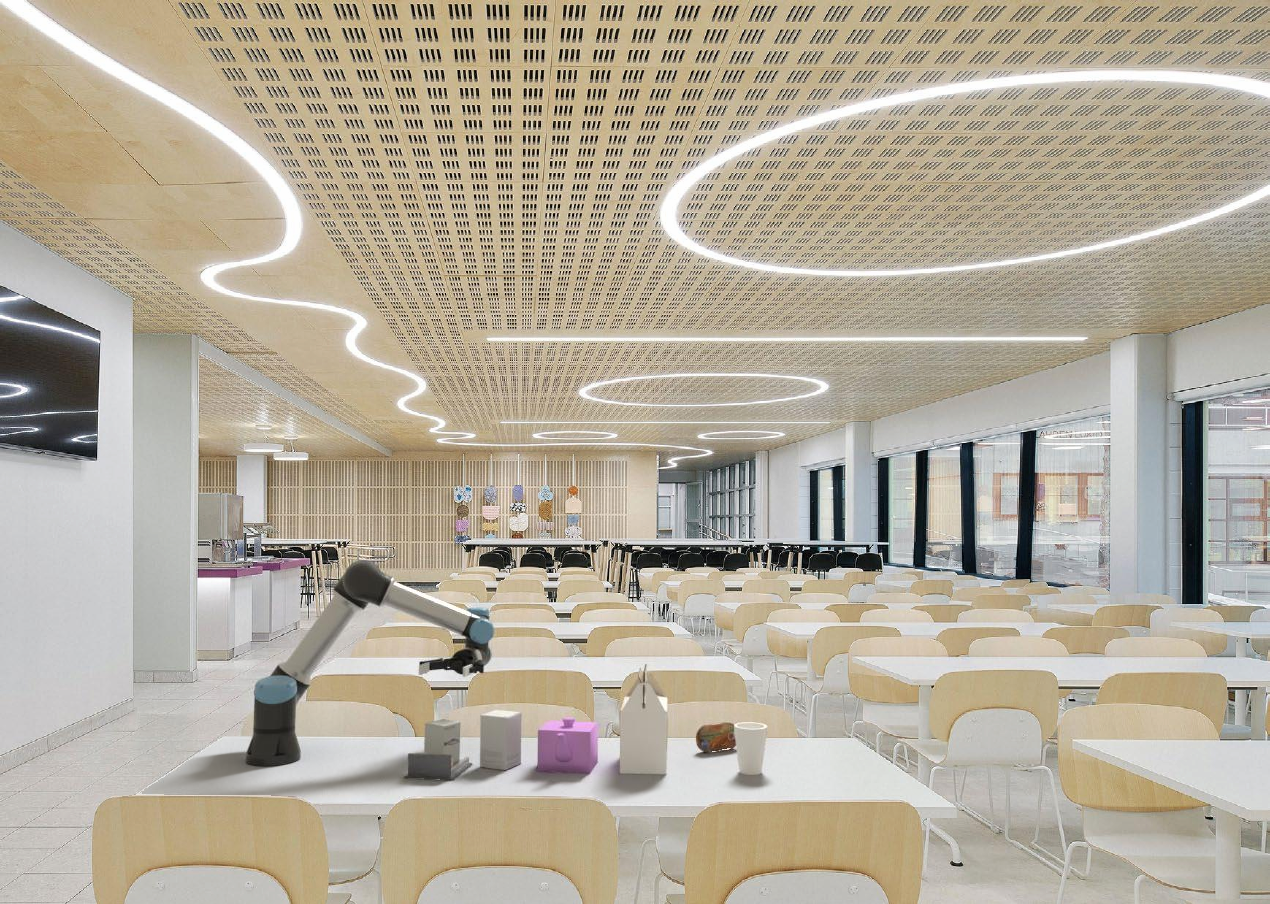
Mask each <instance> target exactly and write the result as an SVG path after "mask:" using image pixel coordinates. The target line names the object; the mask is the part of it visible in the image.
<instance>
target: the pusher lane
mask: <svg viewBox="0 0 1270 904" xmlns="http://www.w3.org/2000/svg"><path fill="white" fill-rule="evenodd" d="M407 755H408V756H407V773H406V774H404V776H403V778H404V779H412V778H424V779H423V780H432V779H440V780H439V781H451V780H453V781H455V780H456V779H457V778H458V777H460V776H461V775H462V774H463V773H465V772H466V771H467V770H469V768H470V767H472V766H473V763H472V762H470V757H469V756H465V757H464V758H459V763H457V764H456V765H455V766H453V767H452V768H451V755H442V754H424V753H418V752H416V753H415V752H409V753H408V754H407ZM465 770H466V771H465ZM455 778H456V779H455Z"/></svg>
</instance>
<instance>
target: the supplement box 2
mask: <svg viewBox="0 0 1270 904" xmlns="http://www.w3.org/2000/svg"><path fill="white" fill-rule="evenodd" d="M479 731H480V735H479V738H480V741H479V743H480V744H479V745H480V746H479V748H480V749H479V767H480V768H483V767H485V768H484V769H493V770H501V771H507V770H509V769H511V768H514V767H516V766H518V765H521V764H522V712H520V711H511V710H501V709H494V710H491V711H489V712H486V713H482V714H481V715H480V730H479Z"/></svg>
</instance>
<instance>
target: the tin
mask: <svg viewBox="0 0 1270 904" xmlns="http://www.w3.org/2000/svg"><path fill="white" fill-rule="evenodd" d="M734 725H735V724H734V723H731V722H719V723H712V724H709V723H708V724H704V725H702V726H701V727H699V729H698V730H697V732H696V735H695V742H696V746H697V748H698V749H699V750H700V751H702V752H705V753H707V754H711V753H710V752H712V751H719V750H722V749H727V748H733V749H734V748H735V747H736V740H735V734H734Z"/></svg>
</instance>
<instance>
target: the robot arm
mask: <svg viewBox="0 0 1270 904" xmlns="http://www.w3.org/2000/svg"><path fill="white" fill-rule="evenodd" d="M332 594H333V597H332V598H331V599H330V600H329V602H328V603H327V605H326V606H325V608H324V609H323V610H322V612H321V614H319V616H318V618H317V619H316V620H315V622H314V623H313V625H312V626H311V627H310V628H309V630H308V631H307V633H306V634H305V636H304V637H303V638H302V640H300V642H299V644H298V645H297V646H296V647H295V649H294V650H293V652H292V654H291V655H290V656H289V658H288V659H287V661H283V662H280V663H278V664H277V665H276V667H275V669H274V670H273V671H272V672H271V674H270V675H269V676H266V677H263V678H262V677H261V678H260V679H258V680H257V681H256V682H255V685H254V689H253V695H254V702H253V727H252V730H253V731H252V736H251V740H250V742H249V745H248V748H247V751H246V754H245V763H247V764H249V765H252V766H258V767H259V766H262V767H266V766H267V767H269V766H271V767H273V766H280V765H287V764H291V763H294V762H297V761H299V760H300V759H301V758H302V757H301V754H302V750H301V748H300V744H299V740H298V736H297V734H296V733H297V732H296V715H297V712H296V711H297V705H298V703H299V701H300V700H301V699H302V697H303V696H304V694H305V693H306V691H307V690H308V688H309V687H310V686H311V684H312V681H311V676H312V675H313V673H314V672H315V670H316V669H317V668H318V667H319V665H320V663H321V662H322V661H323V659H324V658H325V656H326V655H327V654H328V652H329V651H330V649H331V648H332V647H333V645H334V644H335V642H336V641H337V639H338V638H339V637H340V636H341V634H342V633H343V632H344V630H345V628H346V627H347V626H348V625H349V623H350V621H352V619H353V617H354V616H355V615H356V613H357V612H359V611H360V612H361V611H364V610H365V609H366V607H367V606H368V604H373V605H375V606H376V607H383V606H387V607H390V608H391V609H393V610H394V609H395V610H397V611H399V612H402V613H405V614H406V615H410V616H412V617H414V618H417V619H419V620H422V621H425V622H427V623H430V624H432V625H434V626H437V627H440V628H441V629H445V630H447V631H450V632H453V634H454V633H455V634H456V635H457V634H458V635H460V636H462V637H464V638H465V639H464V640H465V641H464V648H463V649H461V650H460V649H459V650H458V651H456V652H455V653H454V654H453V655H452V657H450V658H443V657H440V658H435V659H430V660H429V659H428V660H422V661H419V665H418V676H422V675H424V674H427V673H429V672H430V671H438V670H439V671H440V670H444V671H454V672H455V673H456V674H458V675H461V676H462V677H463V678H466V677H468V676H471V675H472V674H477V673H478V672H479V673H480V674H484V671H485V666H486V665H487V664H489V663H490V661H491V660H492V655H493V653H492V649H491V647H490V646H489V642H490V641H491V640H492V638H493V637H494V634H495V627H494V624H493V623H492V621H491V620H490V618H491V617H490V610H489V608H487V607H468V608H467V609H466V610H465V609H463V608H461V607H457V606H455V605H453V604H450V603H448V602H446V601H443V600H440V599H438V598H436V597H433V596H432V595H428V594H426V593H424V592H421V591H419V590H416V589H414V588H411V587H410V586H407V585H404V584H402V583H399V582H397V581H396V580H395V578H394V577H393V576H391V575H389V574H386V573H385V572H383V571H382V570H381V569H380V567H379V566H378V565H376V564H375V562H372V561H370V560H367V559H361V560H357V561H353V562H352V563H351V564H350V565H349V566H348V567H347V568H346V569H345V572H344V573H343V575H342V576H341V578H340V579H339V580H338V581H337V583H336V584H335V586H334V587H333V588H332Z"/></svg>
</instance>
